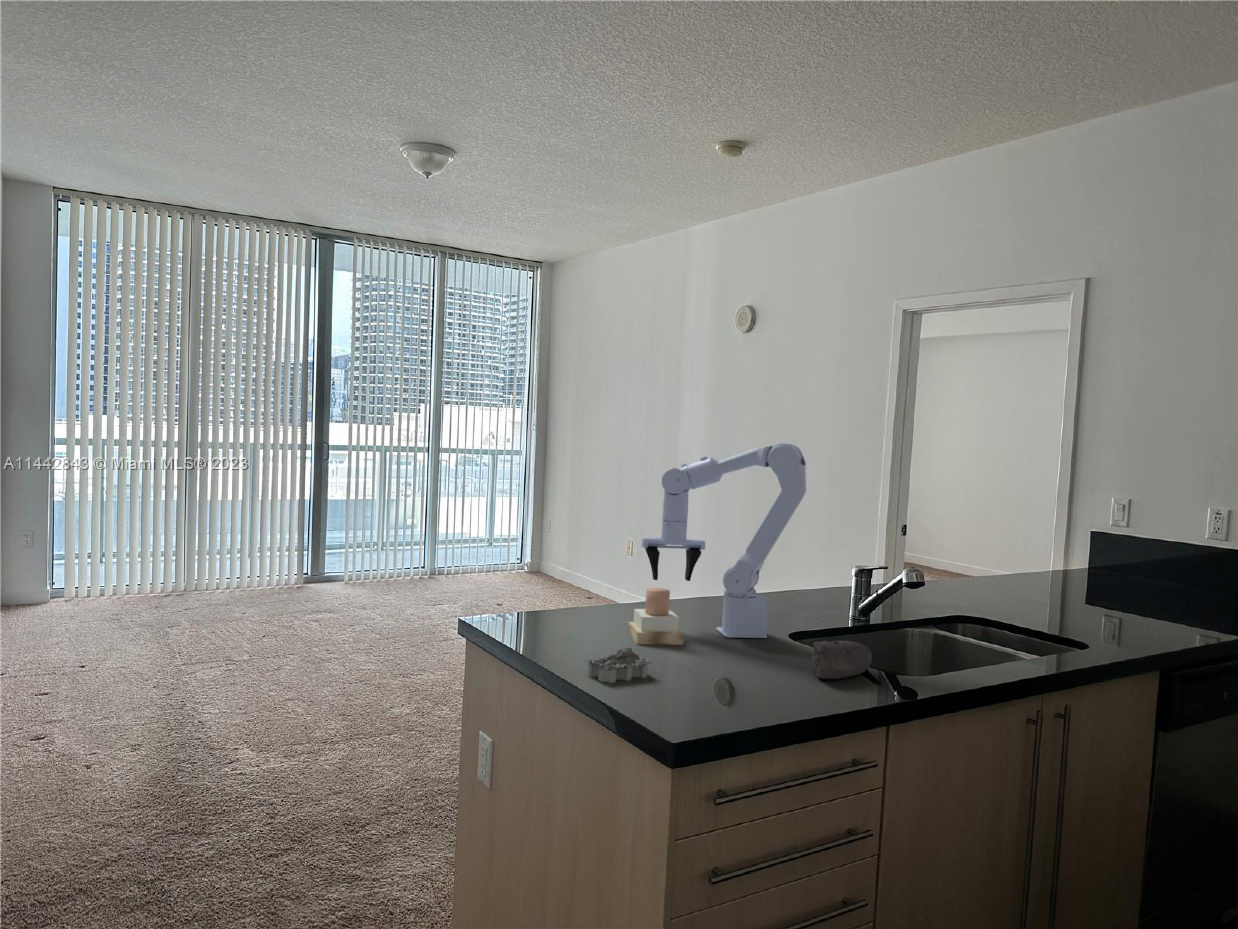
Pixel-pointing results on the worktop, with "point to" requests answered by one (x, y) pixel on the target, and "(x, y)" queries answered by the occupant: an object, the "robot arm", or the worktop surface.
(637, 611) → the tower top
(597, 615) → the worktop surface
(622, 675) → the grey carved stone fragment
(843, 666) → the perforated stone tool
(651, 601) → the cylinder
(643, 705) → the worktop surface
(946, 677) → the worktop surface
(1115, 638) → the worktop surface
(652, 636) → the tower base
